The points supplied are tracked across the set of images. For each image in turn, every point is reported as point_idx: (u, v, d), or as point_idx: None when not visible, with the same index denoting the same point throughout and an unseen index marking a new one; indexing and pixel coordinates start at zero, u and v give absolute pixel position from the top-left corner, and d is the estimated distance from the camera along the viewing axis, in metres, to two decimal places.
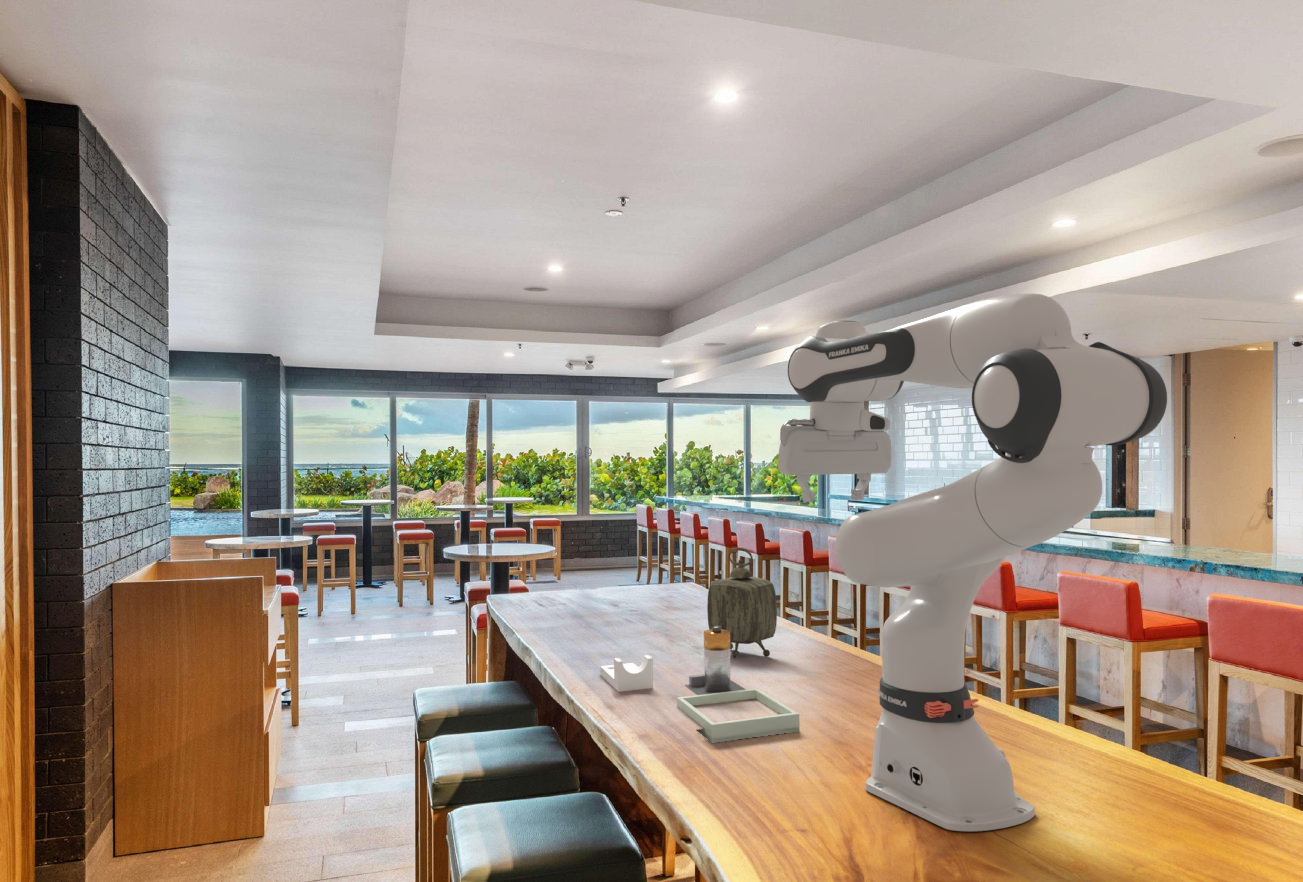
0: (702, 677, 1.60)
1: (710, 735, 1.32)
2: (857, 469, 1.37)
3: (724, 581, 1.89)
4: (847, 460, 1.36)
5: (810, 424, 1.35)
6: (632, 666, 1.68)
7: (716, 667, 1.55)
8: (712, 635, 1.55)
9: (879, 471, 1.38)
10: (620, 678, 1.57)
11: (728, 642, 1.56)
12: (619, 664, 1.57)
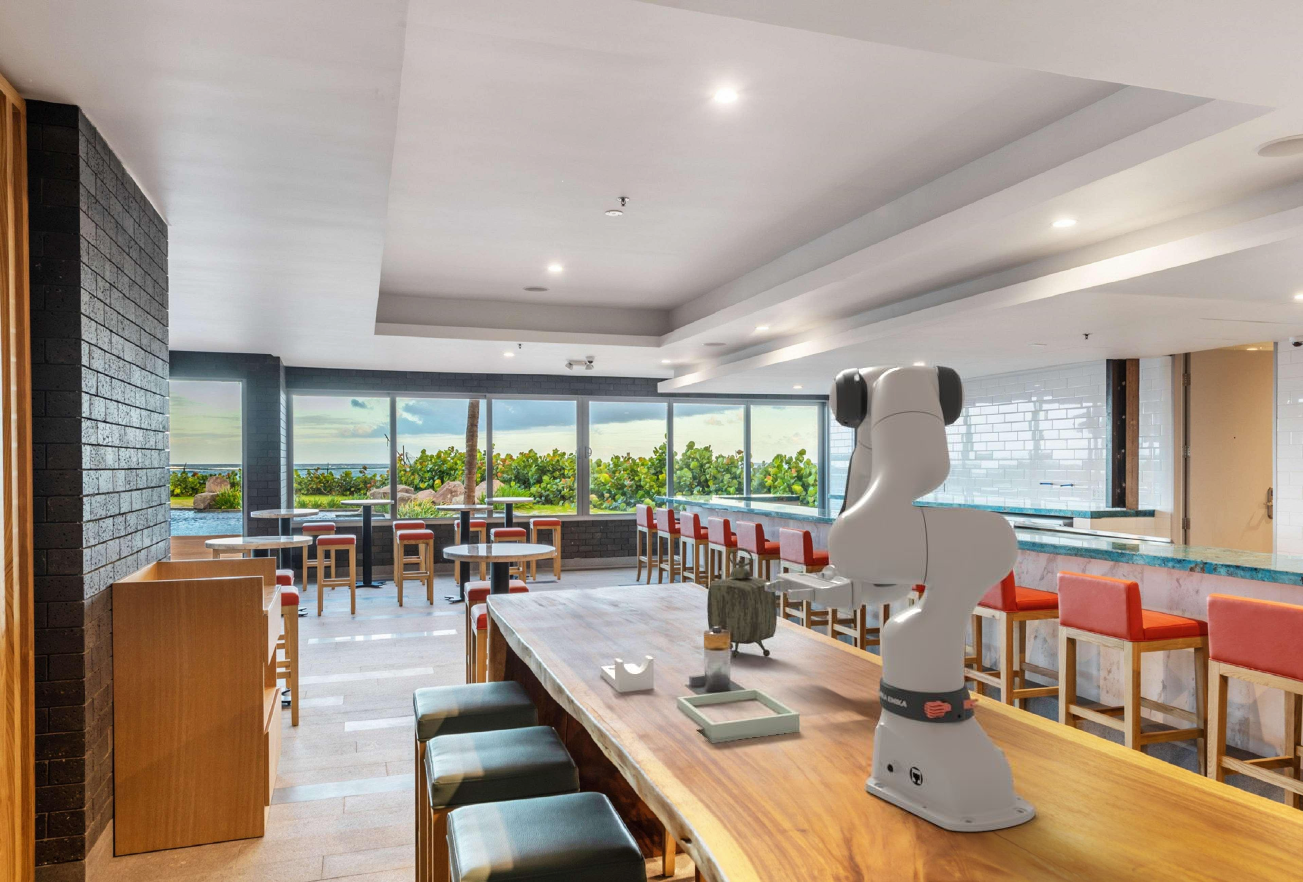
0: (702, 677, 1.60)
1: (710, 735, 1.32)
2: (809, 582, 1.60)
3: (724, 581, 1.89)
4: (810, 580, 1.63)
5: None
6: (633, 666, 1.68)
7: (716, 667, 1.55)
8: (712, 635, 1.55)
9: (818, 586, 1.56)
10: (620, 679, 1.56)
11: (728, 642, 1.56)
12: (619, 664, 1.56)
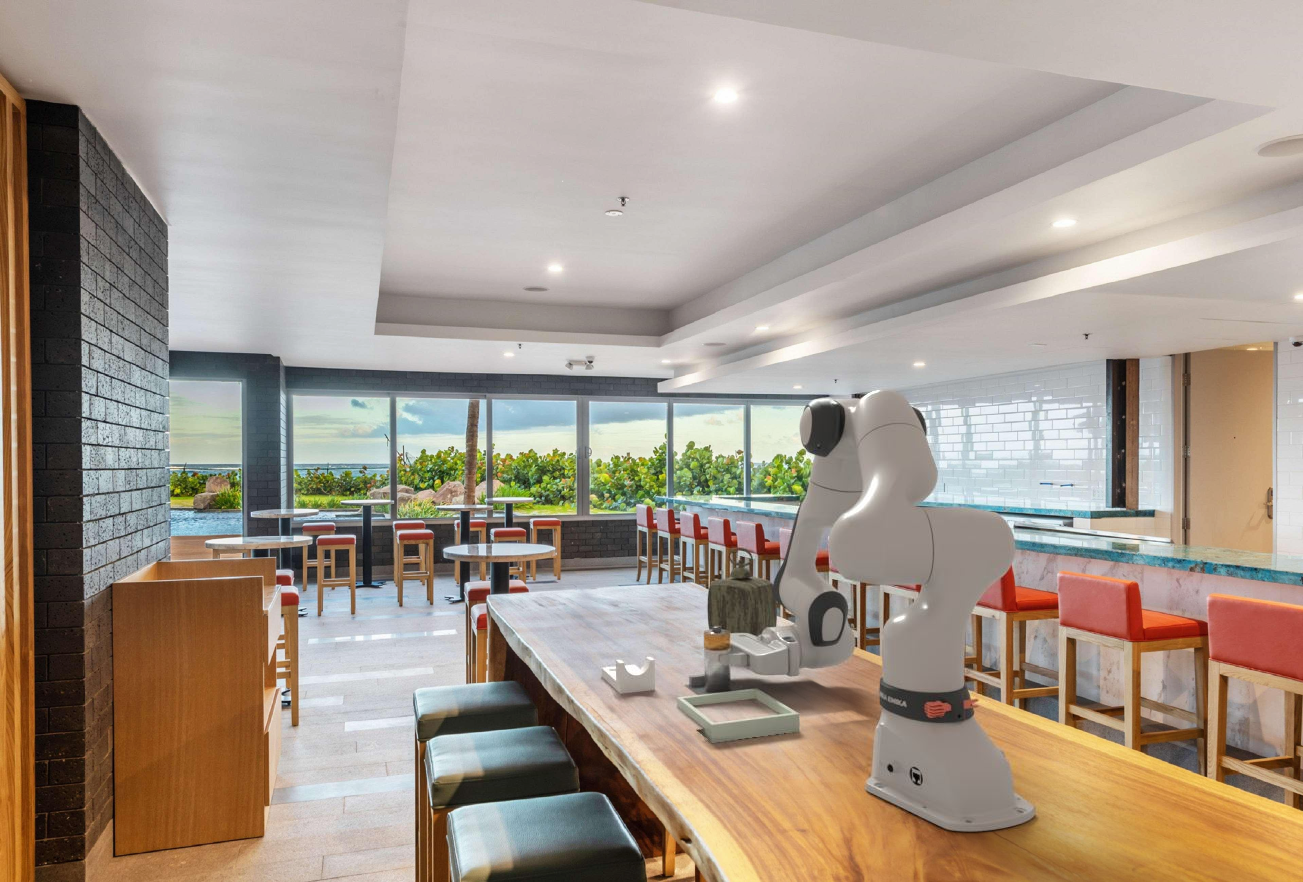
0: (702, 677, 1.60)
1: (710, 735, 1.32)
2: (745, 647, 1.56)
3: (724, 581, 1.89)
4: (748, 644, 1.58)
5: None
6: (634, 668, 1.67)
7: (716, 667, 1.55)
8: (712, 635, 1.55)
9: (753, 653, 1.51)
10: (622, 680, 1.55)
11: (728, 642, 1.56)
12: (621, 666, 1.55)
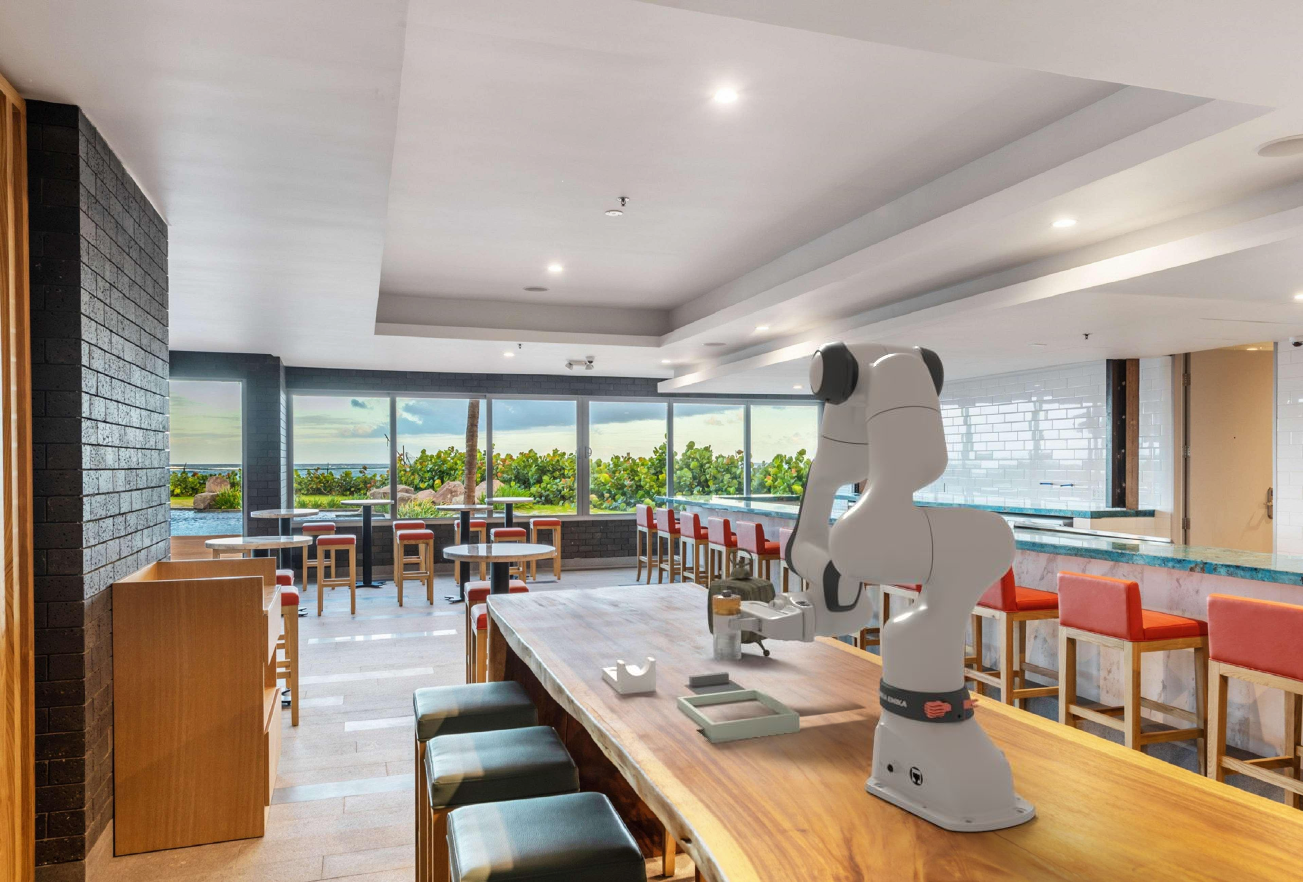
0: (702, 677, 1.60)
1: (710, 735, 1.32)
2: (757, 612, 1.47)
3: (724, 581, 1.89)
4: (759, 610, 1.49)
5: None
6: (634, 668, 1.66)
7: (725, 633, 1.46)
8: (722, 599, 1.46)
9: (766, 617, 1.42)
10: (622, 681, 1.55)
11: (738, 607, 1.47)
12: (621, 666, 1.55)
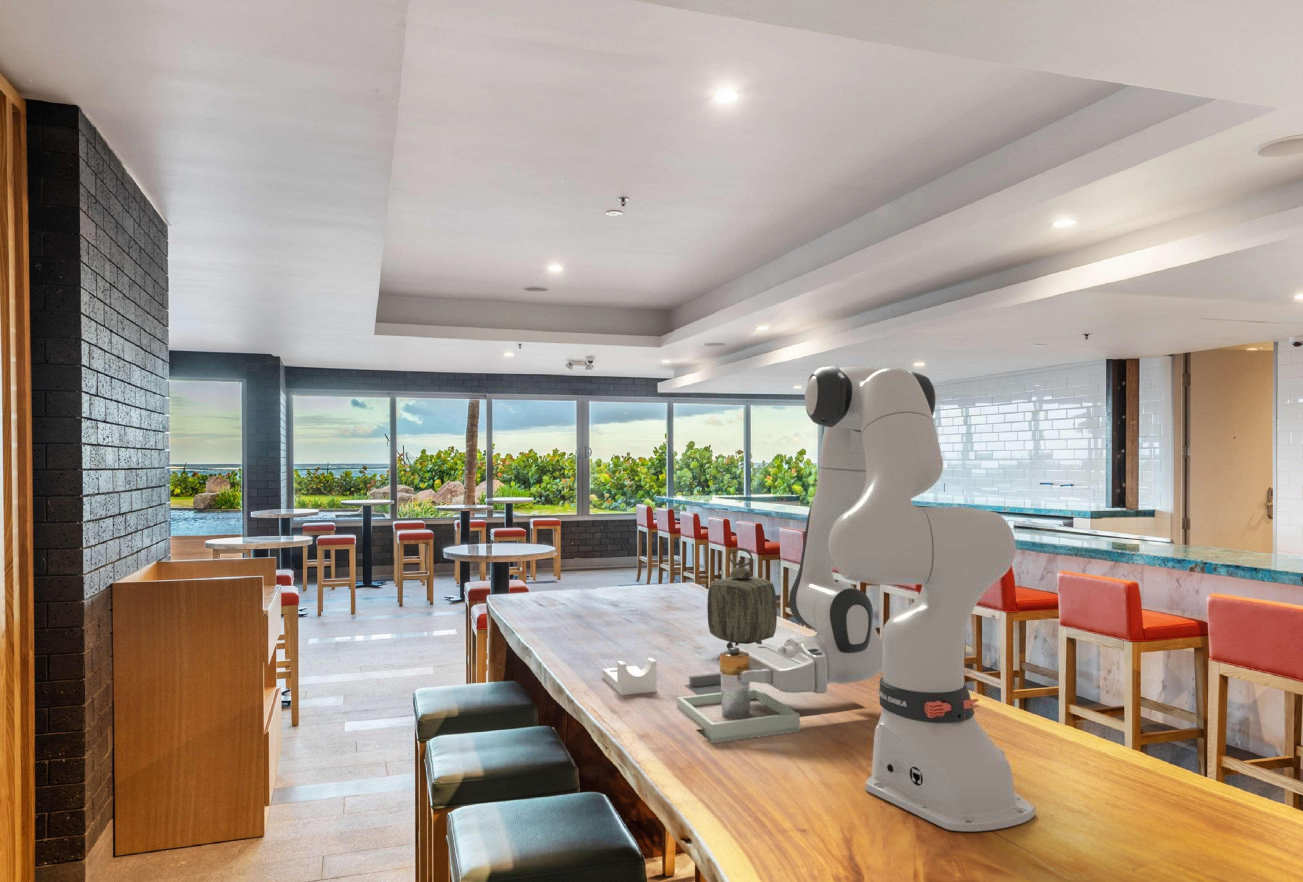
0: (702, 677, 1.60)
1: (710, 735, 1.32)
2: (767, 661, 1.41)
3: (724, 581, 1.89)
4: (769, 657, 1.43)
5: None
6: (635, 669, 1.66)
7: (734, 693, 1.40)
8: (729, 658, 1.40)
9: (776, 668, 1.36)
10: (623, 681, 1.54)
11: (747, 665, 1.41)
12: (622, 667, 1.54)
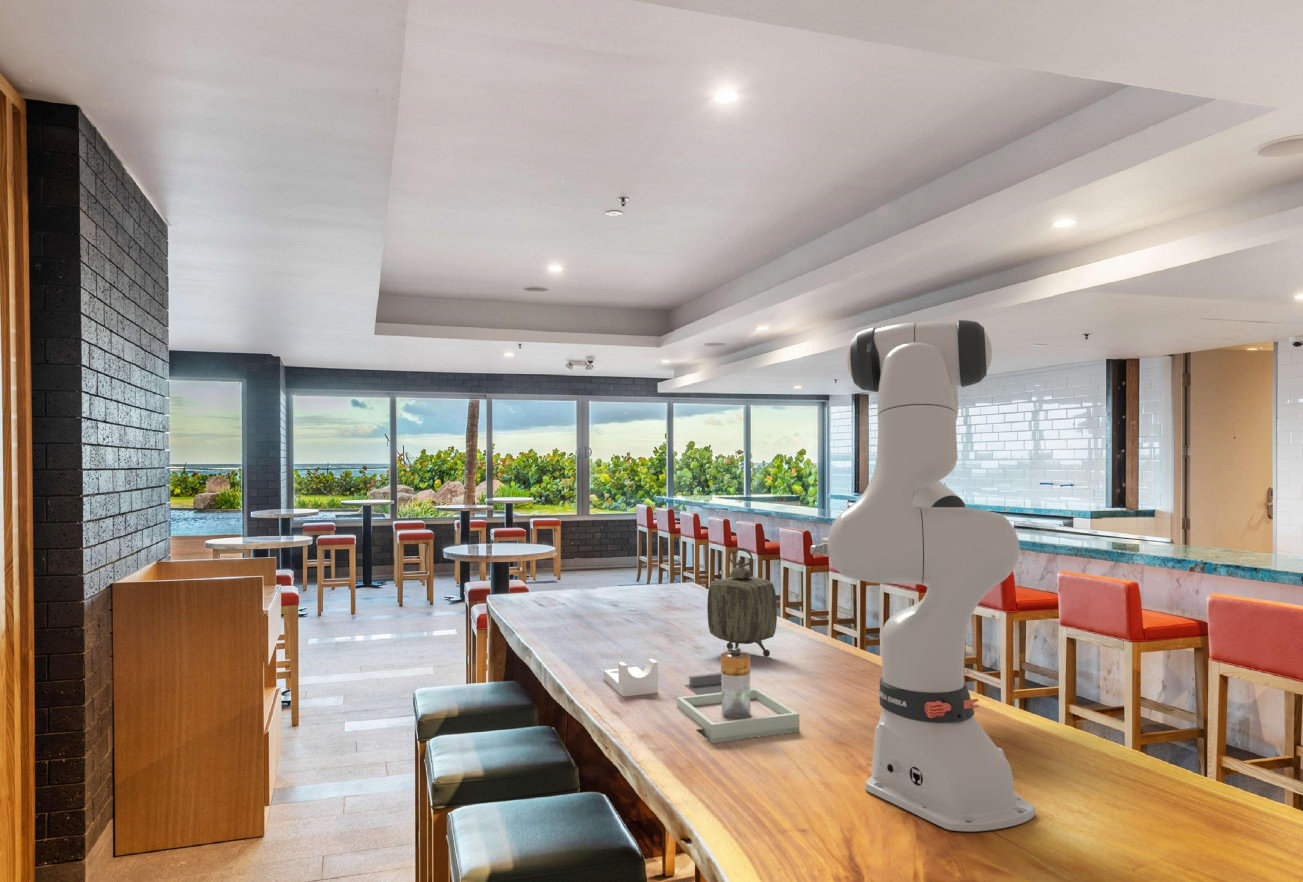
0: (702, 677, 1.60)
1: (710, 735, 1.32)
2: None
3: (724, 581, 1.89)
4: None
5: None
6: (636, 670, 1.65)
7: (734, 694, 1.40)
8: (730, 658, 1.40)
9: None
10: (624, 683, 1.53)
11: (748, 666, 1.41)
12: (623, 668, 1.53)
